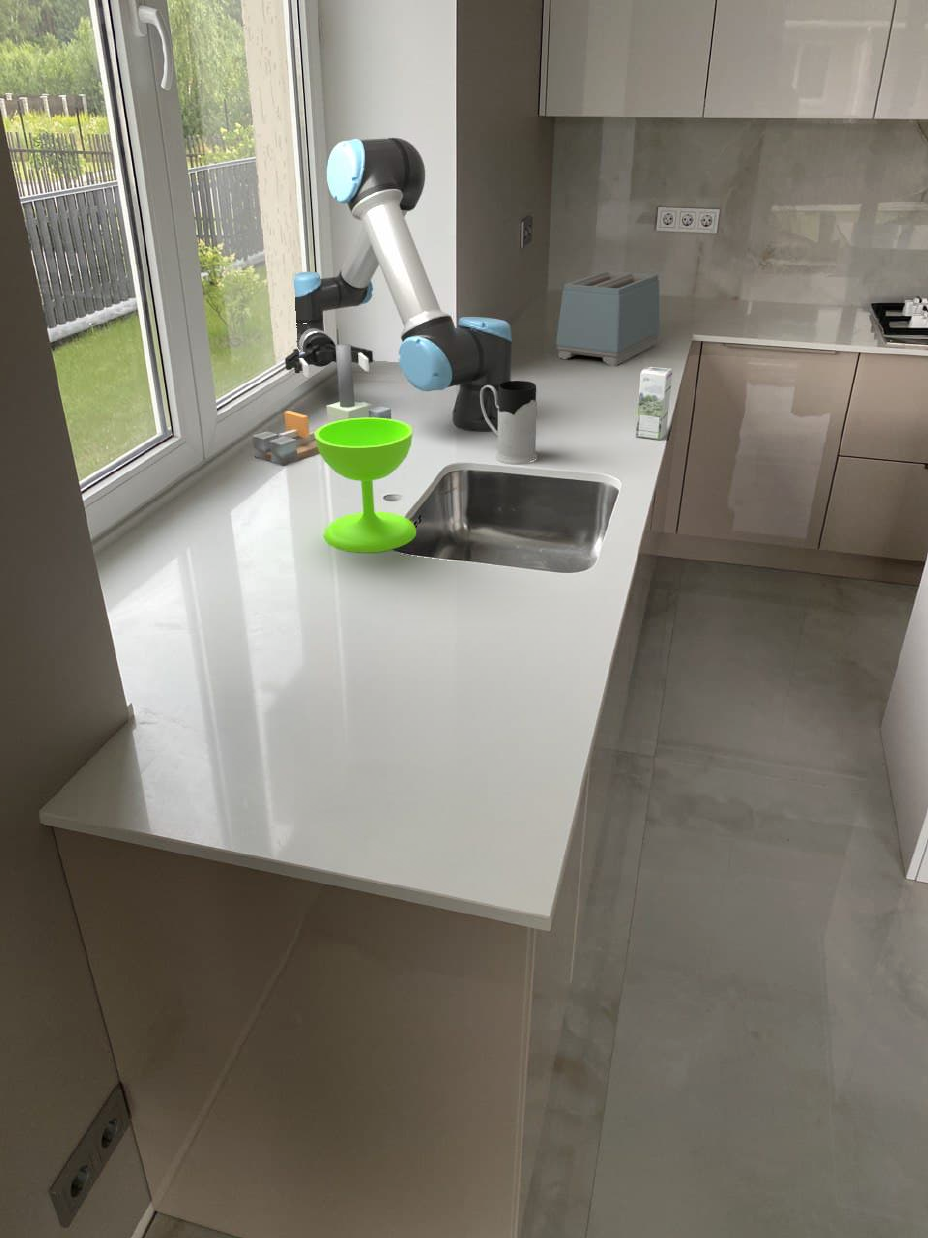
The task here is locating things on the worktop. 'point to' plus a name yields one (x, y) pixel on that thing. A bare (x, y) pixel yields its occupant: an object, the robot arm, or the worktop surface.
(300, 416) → the orange block
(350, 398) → the carriage
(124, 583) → the worktop surface
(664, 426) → the syrup box
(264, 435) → the rail base
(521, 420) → the glass holder
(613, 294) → the toaster
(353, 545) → the wineglass
